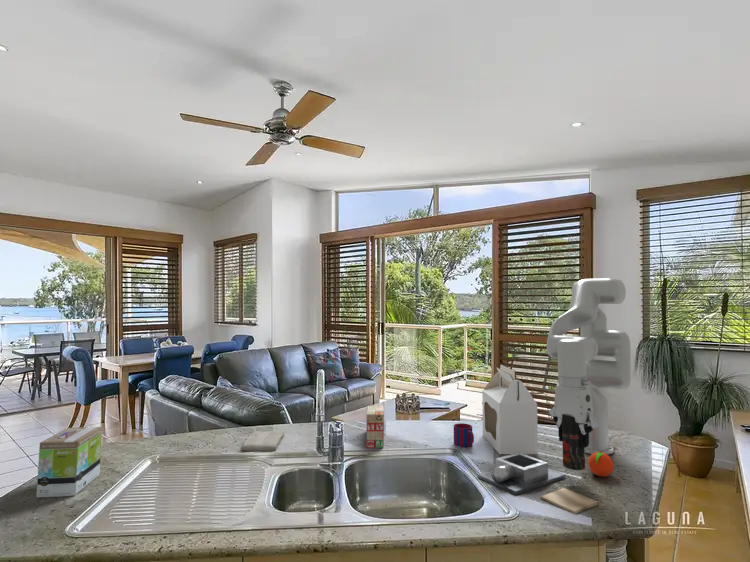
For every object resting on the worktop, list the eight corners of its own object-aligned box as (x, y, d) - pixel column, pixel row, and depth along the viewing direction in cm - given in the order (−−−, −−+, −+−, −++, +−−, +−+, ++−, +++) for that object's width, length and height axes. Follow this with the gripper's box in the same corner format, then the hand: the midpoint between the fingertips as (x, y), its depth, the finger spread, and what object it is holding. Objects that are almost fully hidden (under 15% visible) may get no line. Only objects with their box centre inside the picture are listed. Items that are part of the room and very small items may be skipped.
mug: (467, 441, 167) (467, 422, 168) (479, 450, 158) (479, 430, 158) (450, 442, 166) (450, 423, 166) (462, 451, 156) (462, 431, 156)
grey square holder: (526, 463, 145) (526, 447, 145) (565, 477, 133) (565, 460, 134) (477, 477, 133) (477, 460, 133) (515, 495, 122) (515, 476, 122)
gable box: (482, 435, 175) (481, 363, 176) (515, 434, 175) (515, 363, 176) (500, 455, 153) (499, 372, 154) (538, 454, 153) (537, 372, 154)
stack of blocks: (367, 430, 181) (367, 399, 181) (383, 430, 181) (383, 400, 181) (366, 448, 159) (366, 413, 160) (383, 448, 159) (383, 413, 160)
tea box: (76, 496, 120) (78, 440, 121) (35, 499, 119) (37, 442, 119) (101, 474, 135) (102, 425, 136) (64, 476, 134) (66, 426, 134)
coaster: (563, 490, 125) (563, 487, 125) (598, 503, 116) (598, 501, 116) (540, 498, 119) (540, 496, 119) (575, 513, 111) (575, 511, 111)
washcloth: (284, 436, 174) (285, 428, 174) (276, 452, 156) (277, 443, 156) (254, 436, 173) (254, 428, 174) (242, 453, 156) (242, 444, 156)
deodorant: (587, 470, 127) (586, 417, 127) (565, 469, 128) (564, 416, 128) (582, 462, 132) (581, 411, 132) (561, 461, 134) (559, 411, 134)
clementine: (609, 483, 129) (608, 458, 130) (584, 477, 134) (583, 453, 134) (616, 475, 135) (616, 451, 135) (592, 469, 140) (592, 446, 140)
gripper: (608, 385, 125) (609, 449, 125) (554, 375, 140) (555, 433, 139) (592, 389, 121) (594, 455, 121) (538, 378, 135) (540, 438, 135)
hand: (573, 443), depth 130 cm, fingers closed on deodorant, 6 cm apart
